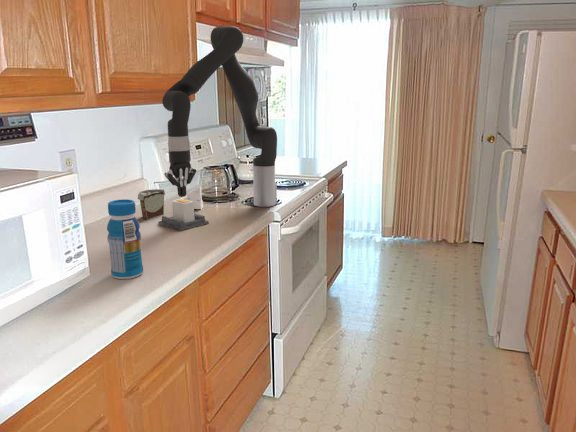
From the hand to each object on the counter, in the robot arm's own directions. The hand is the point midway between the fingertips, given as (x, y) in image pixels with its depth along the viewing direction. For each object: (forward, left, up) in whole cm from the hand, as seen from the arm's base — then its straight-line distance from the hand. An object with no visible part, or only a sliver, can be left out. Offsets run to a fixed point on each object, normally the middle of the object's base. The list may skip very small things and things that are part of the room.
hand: (182, 196), depth 177 cm
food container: (+2, -19, -11) cm, 22 cm away
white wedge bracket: (-18, -16, -11) cm, 26 cm away
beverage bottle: (+41, +30, -11) cm, 52 cm away
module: (0, 0, -9) cm, 9 cm away
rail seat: (0, 0, -10) cm, 10 cm away
